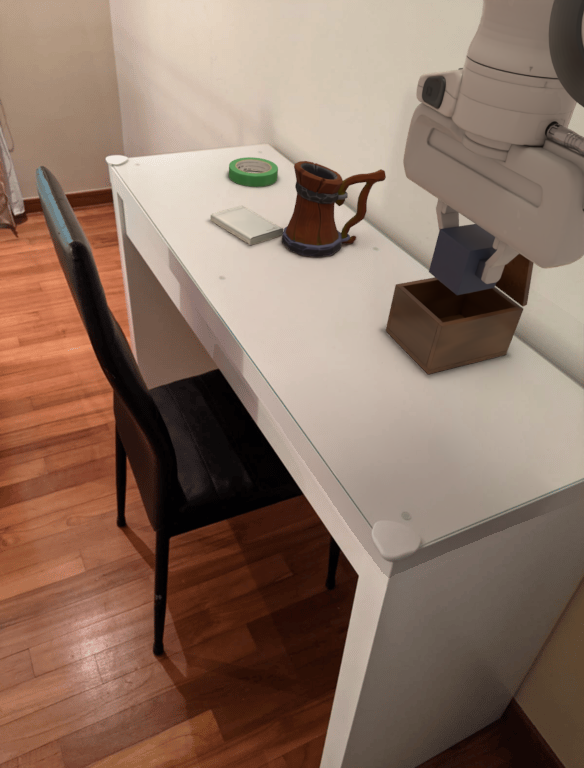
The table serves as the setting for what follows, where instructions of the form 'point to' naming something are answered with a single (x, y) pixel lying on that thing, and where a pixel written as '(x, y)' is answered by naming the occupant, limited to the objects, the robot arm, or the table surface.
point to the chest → (451, 324)
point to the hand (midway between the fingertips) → (465, 264)
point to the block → (461, 257)
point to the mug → (323, 209)
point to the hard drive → (246, 225)
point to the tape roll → (253, 179)
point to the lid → (516, 279)
